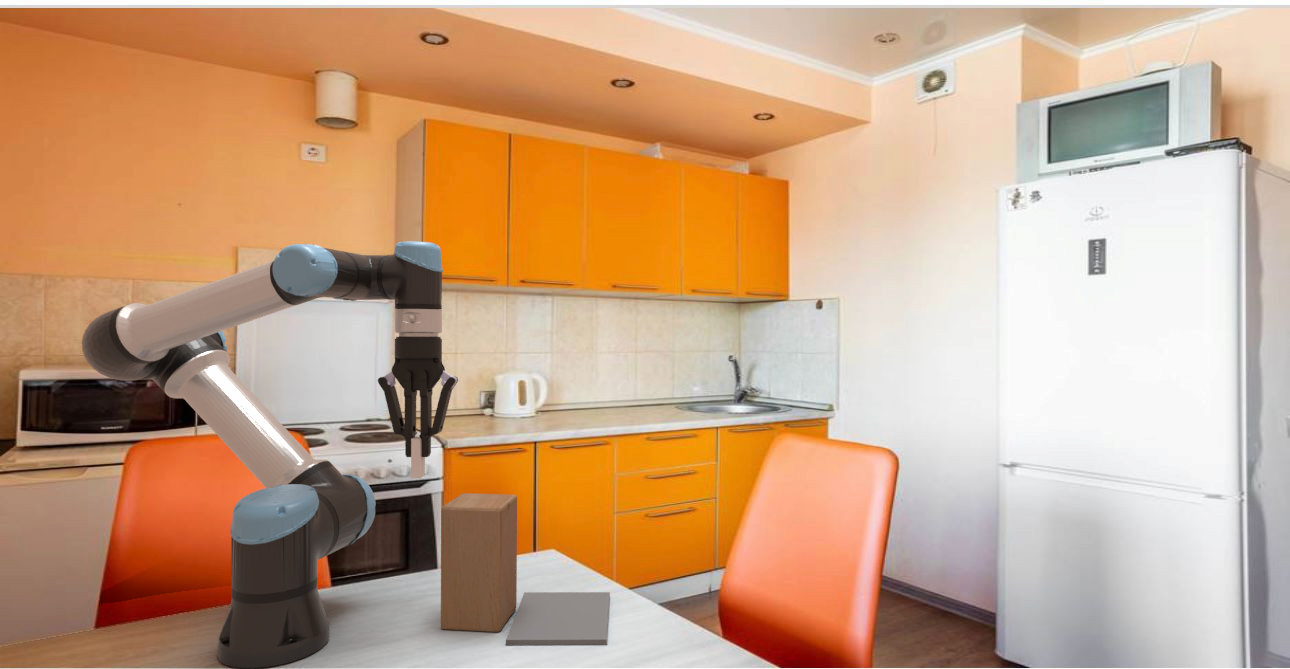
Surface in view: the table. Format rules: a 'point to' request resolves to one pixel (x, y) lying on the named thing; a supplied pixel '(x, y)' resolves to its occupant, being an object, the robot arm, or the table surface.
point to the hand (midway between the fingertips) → (418, 476)
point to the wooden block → (478, 562)
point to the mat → (561, 619)
